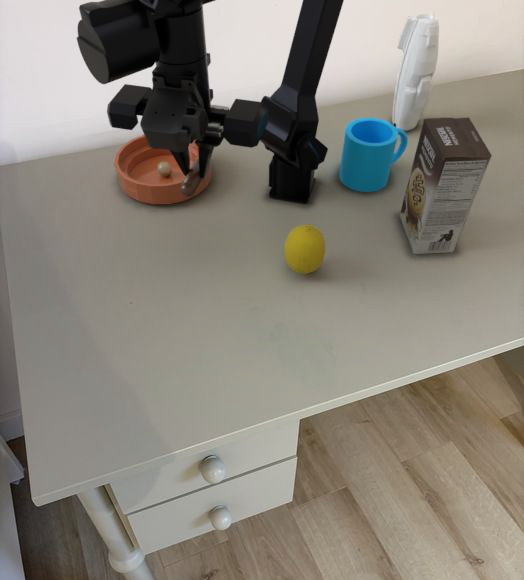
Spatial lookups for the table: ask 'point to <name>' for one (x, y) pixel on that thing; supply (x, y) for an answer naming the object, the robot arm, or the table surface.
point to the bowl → (153, 172)
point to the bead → (164, 169)
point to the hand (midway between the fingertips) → (195, 175)
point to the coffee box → (443, 183)
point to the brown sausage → (191, 180)
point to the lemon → (304, 249)
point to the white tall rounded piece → (415, 70)
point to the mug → (369, 153)
